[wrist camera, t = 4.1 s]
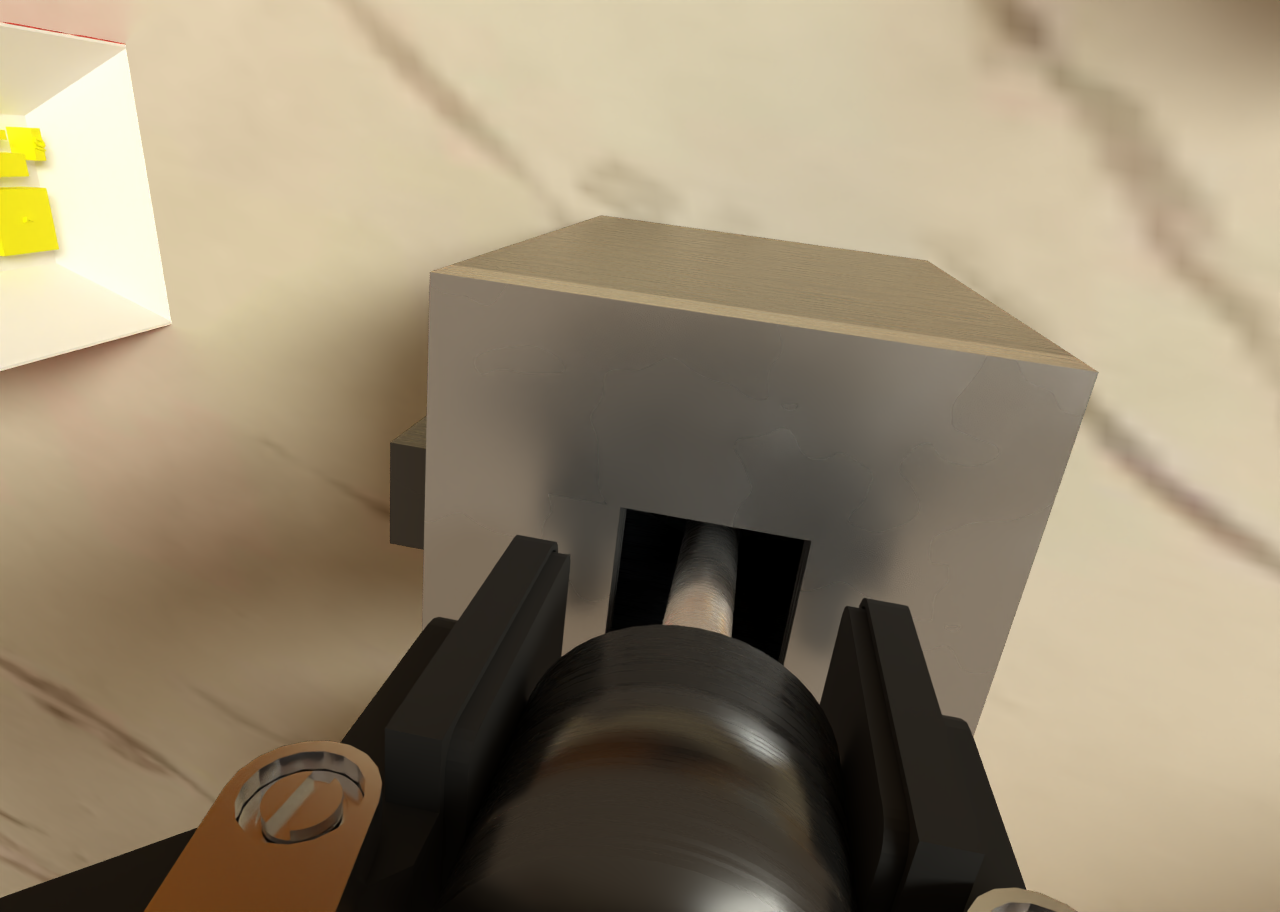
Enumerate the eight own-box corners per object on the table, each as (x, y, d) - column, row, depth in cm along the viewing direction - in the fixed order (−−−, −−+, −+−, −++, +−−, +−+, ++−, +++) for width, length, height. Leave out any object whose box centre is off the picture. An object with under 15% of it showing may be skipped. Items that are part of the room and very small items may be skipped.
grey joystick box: (927, 260, 21) (1098, 372, 10) (854, 553, 24) (923, 881, 13) (552, 208, 22) (333, 257, 11) (530, 496, 25) (344, 755, 14)
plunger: (882, 315, 19) (1232, 811, 5) (828, 547, 22) (946, 1365, 7) (624, 277, 20) (214, 606, 5) (598, 507, 22) (266, 1175, 8)
